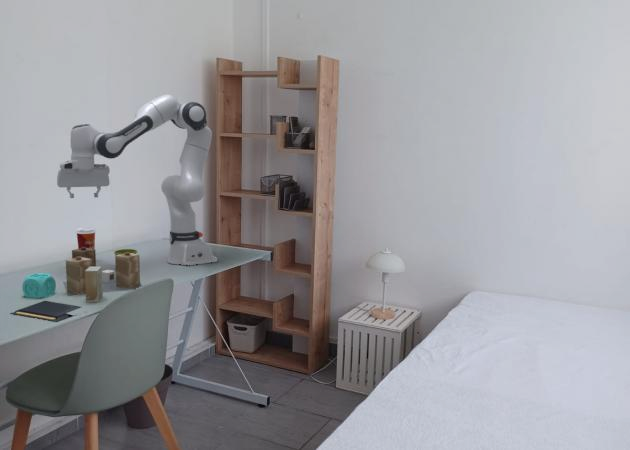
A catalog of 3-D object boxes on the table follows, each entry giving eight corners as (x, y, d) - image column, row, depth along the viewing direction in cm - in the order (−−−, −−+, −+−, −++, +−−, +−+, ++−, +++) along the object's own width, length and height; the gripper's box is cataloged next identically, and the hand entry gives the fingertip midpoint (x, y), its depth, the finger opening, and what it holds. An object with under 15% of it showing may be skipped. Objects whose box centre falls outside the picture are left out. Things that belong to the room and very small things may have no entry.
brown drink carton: (85, 276, 246) (84, 245, 244) (96, 278, 244) (95, 246, 241) (73, 279, 241) (71, 247, 239) (84, 281, 238) (82, 249, 236)
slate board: (134, 278, 246) (134, 275, 246) (144, 290, 228) (144, 288, 228) (63, 284, 234) (62, 282, 233) (68, 298, 216) (68, 295, 216)
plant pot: (128, 275, 250) (128, 254, 249) (109, 272, 254) (109, 252, 252) (142, 270, 259) (142, 250, 258) (124, 267, 262) (123, 248, 261)
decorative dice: (37, 293, 221) (36, 272, 220) (56, 295, 220) (55, 273, 218) (22, 299, 214) (21, 277, 212) (42, 301, 212) (41, 279, 211)
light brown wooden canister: (80, 288, 226) (79, 254, 224) (92, 290, 223) (91, 256, 221) (67, 291, 221) (65, 257, 218) (79, 294, 218) (77, 259, 215)
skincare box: (90, 299, 216) (89, 266, 214) (103, 299, 216) (102, 266, 214) (85, 304, 210) (84, 270, 208) (98, 304, 210) (97, 270, 208)
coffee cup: (90, 264, 266) (88, 231, 263) (73, 263, 267) (71, 230, 265) (100, 260, 274) (99, 228, 271) (84, 259, 275) (82, 226, 273)
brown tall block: (128, 282, 235) (127, 250, 233) (140, 284, 232) (139, 252, 230) (116, 286, 230) (115, 252, 228) (128, 288, 227) (127, 254, 225)
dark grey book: (89, 306, 204) (55, 319, 190) (90, 311, 205) (55, 324, 191) (44, 298, 212) (8, 310, 198) (45, 303, 212) (8, 315, 198)
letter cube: (108, 279, 239) (108, 269, 238) (115, 280, 237) (115, 271, 236) (100, 281, 235) (100, 271, 235) (108, 283, 234) (107, 273, 233)
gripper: (108, 163, 255) (109, 195, 258) (55, 163, 246) (57, 197, 248) (110, 164, 250) (111, 197, 252) (57, 165, 241) (58, 199, 243)
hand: (84, 197), depth 250 cm, fingers open, 8 cm apart
